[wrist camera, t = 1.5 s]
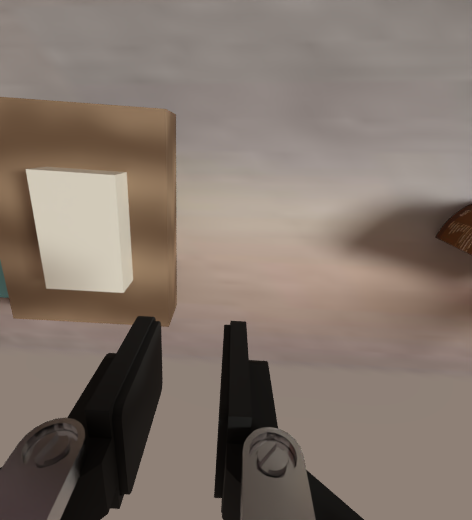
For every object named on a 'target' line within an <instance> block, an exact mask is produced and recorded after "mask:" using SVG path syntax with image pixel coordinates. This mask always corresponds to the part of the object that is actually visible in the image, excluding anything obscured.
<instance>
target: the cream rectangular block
mask: <svg viewBox="0 0 472 520" xmlns="http://www.w3.org/2000/svg"><path fill="white" fill-rule="evenodd" d="M26 174H27V180H28V186H29V192H30V197H31V203H32V209H33V215H34V220H35V226H36V232H37V238H38V243H39V249H40V255H41V261H42V266H43V272H44V278H45V284H46V289H63V290H81V291H98V292H116V293H124V292H125V290H126V289H127V288H128V286H129V285H130V284H131V282H132V281H133V269H132V253H131V236H130V219H129V203H128V186H127V172H117V171H102V170H88V169H73V168H58V167H39V168H31V169H26Z"/></svg>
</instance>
